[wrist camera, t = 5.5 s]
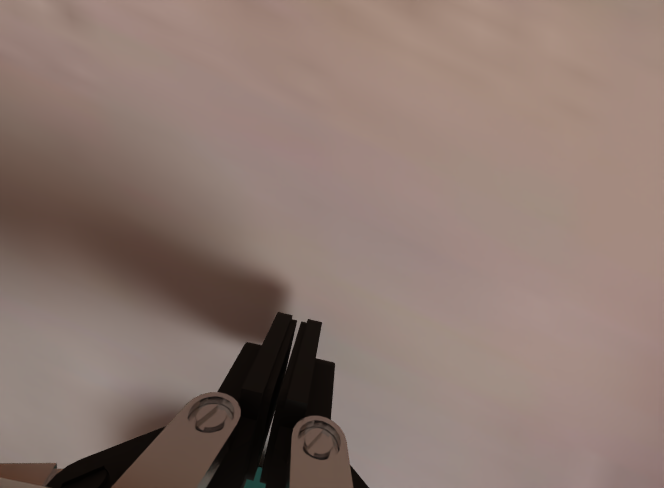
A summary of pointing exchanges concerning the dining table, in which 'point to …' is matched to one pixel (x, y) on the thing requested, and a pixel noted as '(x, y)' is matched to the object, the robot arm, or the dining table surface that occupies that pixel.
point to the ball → (255, 481)
